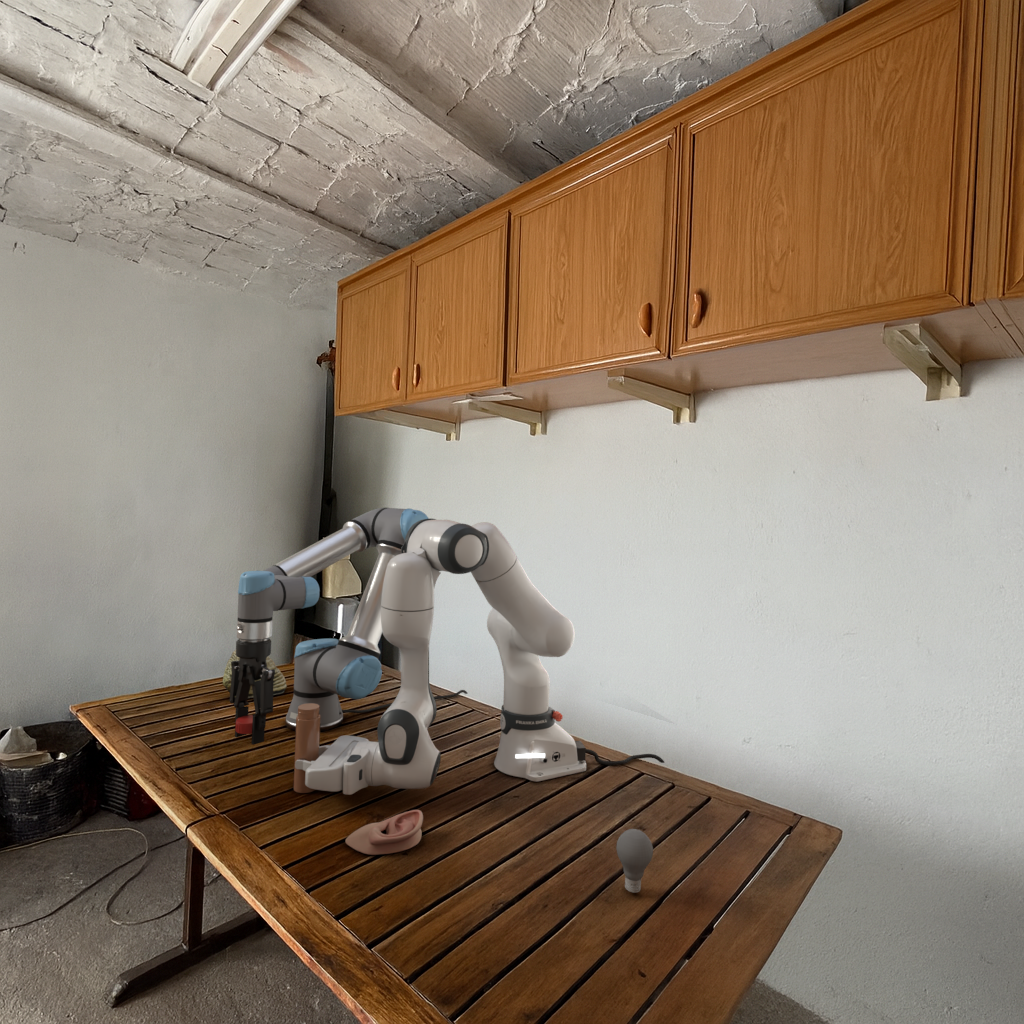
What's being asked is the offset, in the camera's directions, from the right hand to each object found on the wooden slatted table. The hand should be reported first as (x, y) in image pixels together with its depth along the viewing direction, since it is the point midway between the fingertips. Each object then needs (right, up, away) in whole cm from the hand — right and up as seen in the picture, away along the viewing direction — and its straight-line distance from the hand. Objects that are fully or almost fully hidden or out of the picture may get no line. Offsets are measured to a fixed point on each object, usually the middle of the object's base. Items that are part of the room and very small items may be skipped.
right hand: (302, 757), depth 137 cm
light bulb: (+66, -10, -32) cm, 74 cm away
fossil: (-35, -4, +61) cm, 70 cm away
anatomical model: (+22, -8, -19) cm, 30 cm away
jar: (+1, -7, 0) cm, 7 cm away
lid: (-15, +5, +8) cm, 18 cm away
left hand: (-15, +1, +8) cm, 17 cm away
